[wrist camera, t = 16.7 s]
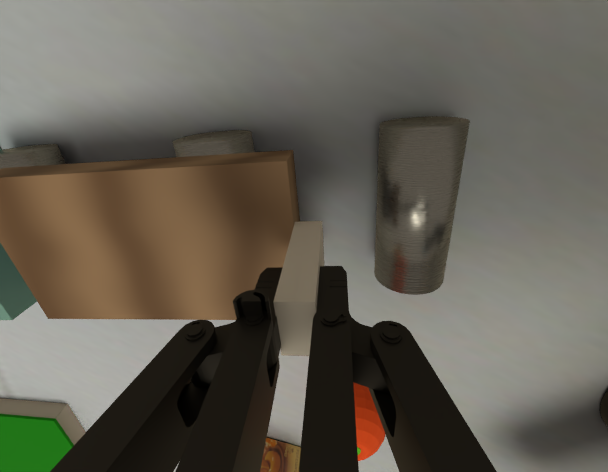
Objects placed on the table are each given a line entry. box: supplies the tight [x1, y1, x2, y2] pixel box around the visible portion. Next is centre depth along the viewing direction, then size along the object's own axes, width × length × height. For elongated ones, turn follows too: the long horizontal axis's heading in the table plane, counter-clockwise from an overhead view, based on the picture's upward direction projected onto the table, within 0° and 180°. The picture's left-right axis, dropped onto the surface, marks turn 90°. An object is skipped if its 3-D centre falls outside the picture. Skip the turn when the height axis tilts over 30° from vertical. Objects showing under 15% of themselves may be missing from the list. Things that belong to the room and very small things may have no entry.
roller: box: [0, 144, 66, 169], centre depth 24 cm, size 5×11×5 cm, turn 5°
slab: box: [0, 150, 300, 320], centre depth 19 cm, size 18×10×2 cm, turn 95°
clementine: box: [353, 382, 385, 461], centre depth 30 cm, size 8×7×7 cm
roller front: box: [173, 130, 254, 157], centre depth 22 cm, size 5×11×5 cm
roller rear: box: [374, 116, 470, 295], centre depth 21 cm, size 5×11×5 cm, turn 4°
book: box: [0, 398, 86, 472], centre depth 46 cm, size 22×28×3 cm
